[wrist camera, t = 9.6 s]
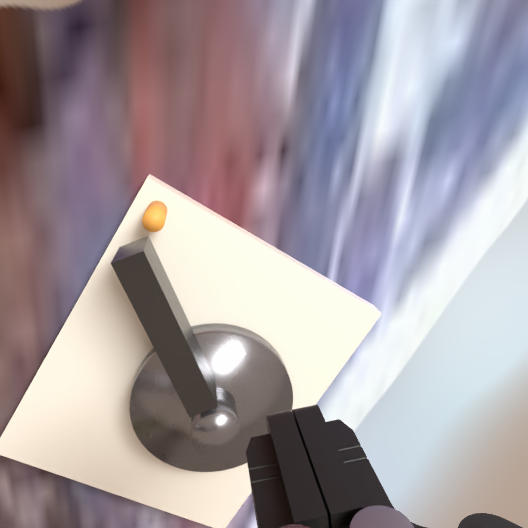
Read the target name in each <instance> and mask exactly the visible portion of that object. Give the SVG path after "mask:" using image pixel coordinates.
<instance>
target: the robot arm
mask: <svg viewBox="0 0 528 528" xmlns="http://www.w3.org/2000/svg"><path fill="white" fill-rule="evenodd" d="M266 424H267V432H268V434H265V435H260V436H255V437H251V439H250V442H249V444H248V447H247V450H246V457H247V464H248V470H249V477H250V483H251V490H252V496H253V502H254V508H255V514H256V520H257V526H258V528H426V527H422V526H419V525H416V524H414V523H412V522H410V521H409V519H408V518H407V517H406V516H404V515H403V514H402V513H401V512H399V511H397V510H395V509H394V507H393V506H392V504H391V503H390V501H389V499H388V497H387V495H386V493H385V491H384V489H383V487H382V485H381V483H380V481H379V479H378V478H377V476H376V474H375V472H374V470H373V468H372V466H371V464H370V462H369V460H368V459H367V457H366V454H365V453H364V451H363V449H362V447H361V446H360V443H359V441H358V439H357V437H356V435H355V433H354V431H353V430H352V429H351V428H349V427H348V426H347V425H346V424H344V423H343V422H342V421H341V420H334V421H329V422H325V420H324V417H323V415H322V413H321V411H320V409H319V407H318V405H312V406H307V407H302V408H297V409H292V412H291V410H287V411H282V412H277V413H272V414H267V415H266ZM458 528H522V527H520V526H518V525H516V524H514V523H512V522H510V521H508V520H506V519H504V518H501V517H499V516H496V515H492V514H487V513H477V514H472V515H469V516H467V517H466V518H464V519H463V520H462V521H461V522H460V524H459V526H458Z"/></svg>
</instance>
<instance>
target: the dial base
mask: <svg viewBox="0 0 528 528" xmlns="http://www.w3.org/2000/svg"><path fill="white" fill-rule="evenodd" d="M147 236H149V238H150V240H151V242H152V244H153V246H154V248H155V250H156V253H157V255H158V257H159V259H160V261H161V263H162V265H163V268H164V270H165V272H166V274H167V276H168V278H169V280H170V283H171V285H172V287H173V289H174V291H175V293H176V295H177V298H178V300H179V302H180V304H181V306H182V308H183V310H184V313H185V315H186V317H187V319H188V321H189V323H190V325H191V327H192V326H196V325H201V324H210V323H221V324H230V325H236V326H239V327H243V328H246V329H248V330H250V331H253V332H255V333H256V334H258V335H260V336H261V337H263V338H264V339H265V340H267V341H268V342H269V343H270V344H271V345H272V346H273V347H274V348H275V349H276V350H277V352H278V353H279V355H280V356H281V358H282V360H283V362H284V364H285V367H286V369H287V372H288V375H289V377H290V381H291V384H292V389H293V406H292V409H297V408H302V407H307V406H312V405H315V404H316V403H317V402H318V400H319V399H320V397H321V396H322V395H323V393H324V392H325V391H326V389H327V388H328V387H329V385H330V384H331V382H332V381H333V380H334V378H335V377H336V376H337V374H338V373H339V371H340V370H341V369H342V367H343V366H344V365H345V363H346V362H347V361H348V359H349V358H350V356H351V355H352V354H353V352H354V351H355V350H356V348H357V347H358V345H359V344H360V343H361V341H362V340H363V339H364V337H365V336H366V335H367V333H368V332H369V330H370V329H371V328H372V326H373V325H374V324H375V322H376V321H377V319H378V318H379V317H380V315H381V313H380V311H379V310H378V309H377V308H376V307H375V306H374V305H372V304H371V303H369V302H367V301H365V300H364V299H362V298H360V297H359V296H357V295H355V294H353V293H352V292H350V291H348V290H347V289H345V288H343V287H342V286H340V285H338V284H336V283H335V282H333V281H331V280H330V279H328V278H326V277H324V276H323V275H321V274H319V273H318V272H316V271H314V270H313V269H311V268H309V267H307V266H306V265H304V264H302V263H301V262H299V261H297V260H295V259H294V258H292V257H290V256H289V255H287V254H285V253H283V252H282V251H280V250H278V249H277V248H275V247H273V246H272V245H270V244H268V243H266V242H265V241H263V240H261V239H260V238H258V237H256V236H254V235H253V234H251V233H249V232H248V231H246V230H244V229H242V228H241V227H239V226H237V225H236V224H234V223H232V222H231V221H229V220H227V219H225V218H224V217H222V216H220V215H219V214H217V213H215V212H213V211H212V210H210V209H208V208H207V207H205V206H203V205H202V204H200V203H198V202H196V201H195V200H193V199H191V198H190V197H188V196H186V195H184V194H183V193H181V192H179V191H178V190H176V189H174V188H172V187H171V186H169V185H167V184H166V183H164V182H162V181H161V180H159V179H157V178H155V177H154V176H152V175H150V174H149V175H148V177H147V179H146V180H145V182H144V184H143V186H142V187H141V189H140V191H139V193H138V195H137V196H136V198H135V200H134V202H133V203H132V205H131V207H130V209H129V210H128V212H127V214H126V216H125V218H124V219H123V221H122V223H121V225H120V226H119V228H118V230H117V232H116V234H115V235H114V237H113V239H112V241H111V242H110V244H109V246H108V248H107V250H106V251H105V253H104V255H103V257H102V258H101V260H100V262H99V264H98V265H97V267H96V269H95V271H94V273H93V274H92V276H91V278H90V280H89V281H88V283H87V285H86V287H85V289H84V290H83V292H82V294H81V296H80V297H79V299H78V301H77V303H76V305H75V306H74V308H73V310H72V312H71V313H70V315H69V317H68V319H67V320H66V322H65V324H64V326H63V328H62V329H61V331H60V333H59V335H58V336H57V338H56V340H55V342H54V344H53V345H52V347H51V349H50V351H49V352H48V354H47V356H46V358H45V359H44V361H43V363H42V365H41V367H40V368H39V370H38V372H37V374H36V375H35V377H34V379H33V381H32V383H31V384H30V386H29V388H28V390H27V391H26V393H25V395H24V397H23V399H22V400H21V402H20V404H19V406H18V407H17V409H16V411H15V413H14V414H13V416H12V418H11V420H10V422H9V423H8V425H7V427H6V429H5V430H4V432H3V434H2V436H1V438H0V455H2V456H5V457H8V458H11V459H14V460H17V461H19V462H22V463H25V464H28V465H31V466H34V467H37V468H40V469H43V470H46V471H49V472H52V473H55V474H57V475H60V476H63V477H66V478H69V479H72V480H75V481H78V482H81V483H84V484H87V485H90V486H93V487H95V488H98V489H101V490H104V491H107V492H110V493H113V494H116V495H119V496H122V497H125V498H128V499H130V500H133V501H136V502H139V503H142V504H145V505H148V506H151V507H154V508H157V509H160V510H163V511H166V512H168V513H171V514H174V515H177V516H180V517H183V518H186V519H189V520H192V521H195V522H198V523H201V524H204V525H206V526H209V527H212V528H226V526H227V525H228V523H229V522H230V521H231V519H232V518H233V517H234V515H235V514H236V512H237V511H238V510H239V508H240V507H241V506H242V504H243V503H244V502H245V500H246V499H247V497H248V496H249V495H250V493H251V492H252V490H251V483H250V477H249V470H248V464H247V463H245V464H243V465H241V466H238V467H235V468H232V469H228V470H223V471H216V472H194V471H188V470H183V469H179V468H176V467H173V466H171V465H169V464H166V463H164V462H163V461H161V460H159V459H158V458H156V457H155V456H154V455H152V454H151V453H150V452H149V451H148V450H147V449H146V448H145V447H144V446H143V445H142V443H141V442H140V440H139V439H138V438H137V436H136V434H135V431H134V429H133V426H132V423H131V419H130V411H129V409H130V398H131V392H132V388H133V383H134V379H135V376H136V373H137V370H138V368H139V367H140V365H141V363H142V361H143V360H144V358H145V357H146V356H147V354H148V353H149V352H150V351H151V350H152V349H153V348H154V347H153V345H152V343H151V341H150V339H149V337H148V335H147V333H146V332H145V330H144V328H143V326H142V324H141V322H140V320H139V318H138V316H137V314H136V312H135V310H134V308H133V306H132V304H131V302H130V300H129V298H128V296H127V294H126V292H125V291H124V289H123V287H122V285H121V283H120V281H119V279H118V277H117V275H116V273H115V271H114V269H113V267H112V265H111V262H112V260H113V258H114V256H115V254H116V252H117V251H118V249H119V247H121V246H123V245H126V244H129V243H131V242H134V241H136V240H139V239H142V238H144V237H147Z"/></svg>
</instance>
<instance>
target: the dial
mask: <svg viewBox="0 0 528 528" xmlns="http://www.w3.org/2000/svg"><path fill="white" fill-rule="evenodd" d="M111 265H112V267H113V269H114V271H115V273H116V275H117V277H118V279H119V281H120V283H121V285H122V287H123V289H124V291H125V292H126V294H127V296H128V298H129V300H130V302H131V304H132V306H133V308H134V310H135V312H136V314H137V316H138V318H139V320H140V322H141V324H142V326H143V328H144V330H145V332H146V333H147V335H148V337H149V339H150V341H151V343H152V345H153V347H154V348H153V349H152V350H151V351H150V352H149V353H148V354H147V356H146V357H145V358H144V360H143V361H142V363H141V365H140V367H139V368H138V370H137V373H136V376H135V379H134V383H133V388H132V392H131V398H130V409H129V411H130V419H131V423H132V426H133V429H134V431H135V434H136V436H137V438H138V439H139V440H140V442H141V443H142V445H143V446H144V447H145V448H146V449H147V450H148V451H149V452H150V453H151V454H152V455H154V456H155V457H156V458H158V459H159V460H161V461H163V462H164V463H166V464H169V465H171V466H173V467H176V468H179V469H183V470H188V471H194V472H216V471H223V470H228V469H232V468H235V467H238V466H241V465H243V464H245V463H247V457H246V450H247V447H248V444H249V442H250V439H251V437H255V436H260V435H265V434H268V432H267V424H266V415H267V414H272V413H277V412H282V411H287V410H291V412H292V406H293V389H292V384H291V381H290V377H289V375H288V372H287V369H286V367H285V364H284V362H283V360H282V358H281V356H280V355H279V353H278V352H277V350H276V349H275V348H274V347H273V346H272V345H271V344H270V343H269V342H268V341H267V340H265V339H264V338H263V337H261V336H260V335H258V334H256V333H255V332H253V331H250V330H248V329H246V328H243V327H239V326H236V325H230V324H221V323H210V324H201V325H196V326H192V327H191V325H190V323H189V321H188V319H187V317H186V315H185V313H184V310H183V308H182V306H181V304H180V302H179V300H178V298H177V295H176V293H175V291H174V289H173V287H172V285H171V283H170V280H169V278H168V276H167V274H166V272H165V270H164V268H163V265H162V263H161V261H160V259H159V257H158V255H157V253H156V250H155V248H154V246H153V244H152V242H151V240H150V238H149V236H147V237H144V238H142V239H139V240H136V241H134V242H131V243H129V244H126V245H123V246H121V247H119V249H118V251H117V252H116V254H115V256H114V258H113V260H112V262H111Z"/></svg>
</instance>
